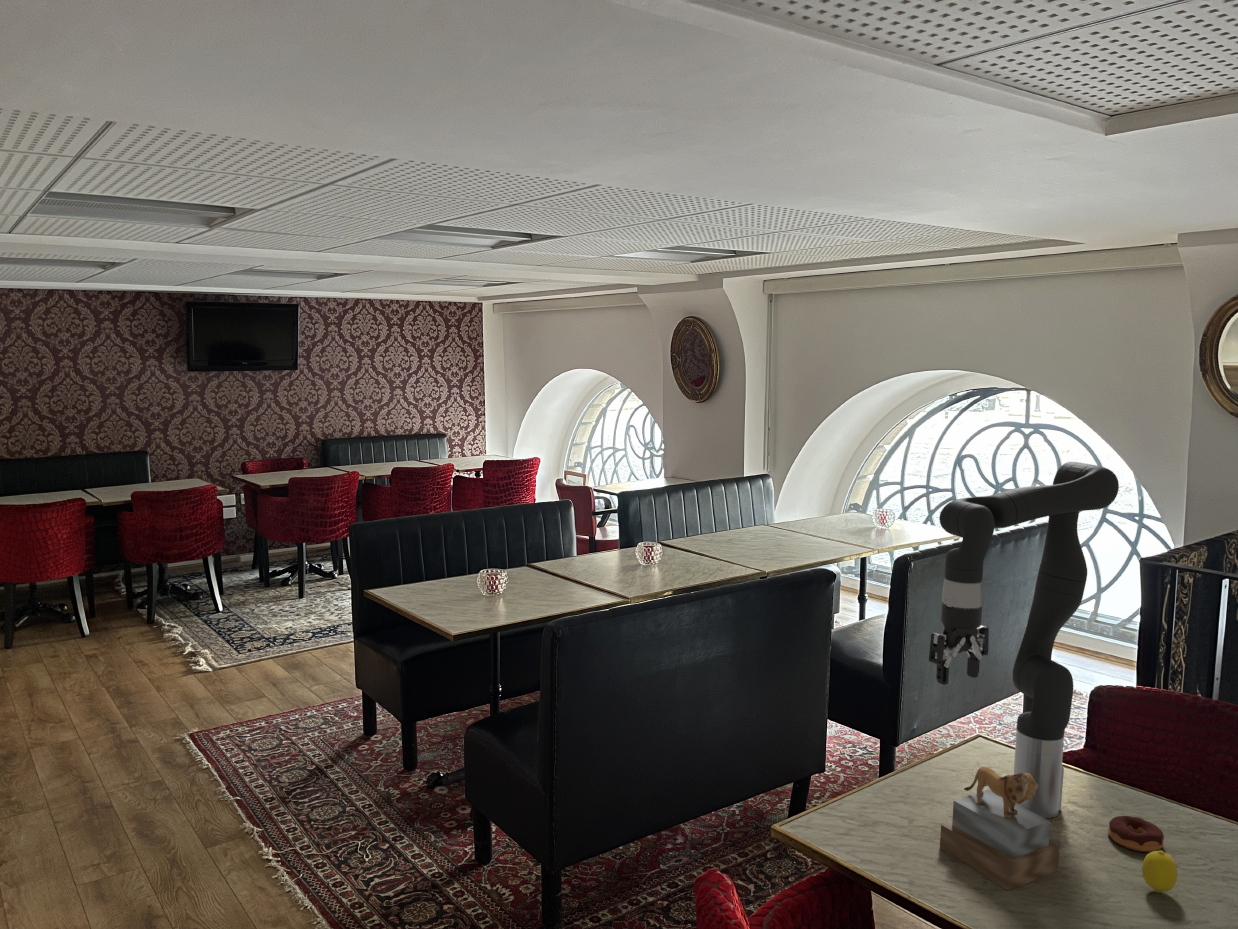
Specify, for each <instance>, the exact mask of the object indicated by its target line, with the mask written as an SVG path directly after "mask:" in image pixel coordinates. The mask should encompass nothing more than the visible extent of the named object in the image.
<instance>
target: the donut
mask: <svg viewBox="0 0 1238 929" xmlns="http://www.w3.org/2000/svg"><path fill="white" fill-rule="evenodd" d="M1108 825H1109V827H1108V829H1107V833H1108V836H1110V838H1111V840H1113V841H1114V842H1115V843H1117V844H1118V845H1120V846H1122V847H1124V848H1126V849H1129V850H1131V849H1132V850H1131V851H1136V852H1141V853H1142V852H1143V853H1145V852H1147V853H1150V852H1153V851H1160V850H1161V849H1162V848H1163V846H1164V841H1165V835H1164V833H1163V831H1162V829H1160V828H1159V827H1158V826H1157V825H1156V824H1154V823H1152V822H1151V821H1148V820H1145V819H1143V818H1141V817H1139V816H1138V817H1137V816H1130V815H1119V816H1114V817H1113V818H1112V819H1111V820H1110V821H1109V822H1108Z"/></svg>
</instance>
